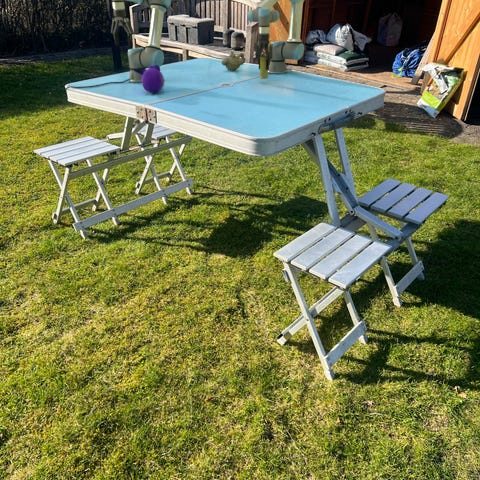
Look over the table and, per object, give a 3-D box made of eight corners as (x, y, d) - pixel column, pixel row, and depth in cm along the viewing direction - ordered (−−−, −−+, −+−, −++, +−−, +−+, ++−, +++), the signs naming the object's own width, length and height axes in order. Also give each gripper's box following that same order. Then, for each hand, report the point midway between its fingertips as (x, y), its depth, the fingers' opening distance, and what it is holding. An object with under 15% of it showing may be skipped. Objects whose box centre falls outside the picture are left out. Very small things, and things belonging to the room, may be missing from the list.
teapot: (225, 73, 360) (224, 53, 352) (218, 71, 369) (217, 51, 361) (248, 70, 369) (247, 50, 362) (240, 68, 378) (240, 49, 370)
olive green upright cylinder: (269, 77, 322) (270, 56, 314) (265, 79, 317) (265, 57, 310) (262, 77, 325) (262, 56, 318) (257, 78, 321) (257, 57, 313)
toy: (156, 85, 322) (164, 98, 301) (131, 81, 314) (137, 93, 294) (160, 63, 314) (168, 74, 293) (135, 58, 306) (141, 69, 286)
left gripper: (136, 9, 281) (141, 46, 292) (111, 8, 294) (116, 43, 305) (127, 10, 276) (132, 47, 287) (102, 9, 289) (107, 45, 300)
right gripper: (278, 33, 304) (277, 69, 316) (255, 32, 314) (255, 67, 325) (272, 34, 299) (272, 71, 311) (249, 33, 308) (250, 69, 320)
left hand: (124, 45), depth 296 cm, fingers open, 13 cm apart
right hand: (263, 69), depth 318 cm, fingers closed on olive green upright cylinder, 6 cm apart
